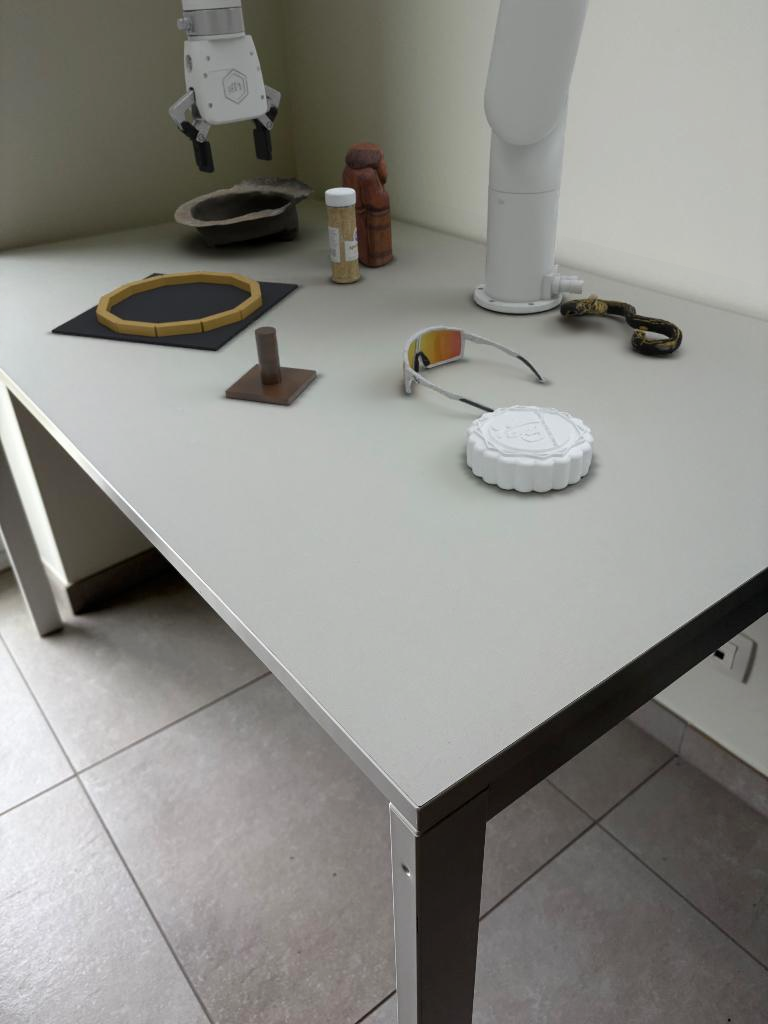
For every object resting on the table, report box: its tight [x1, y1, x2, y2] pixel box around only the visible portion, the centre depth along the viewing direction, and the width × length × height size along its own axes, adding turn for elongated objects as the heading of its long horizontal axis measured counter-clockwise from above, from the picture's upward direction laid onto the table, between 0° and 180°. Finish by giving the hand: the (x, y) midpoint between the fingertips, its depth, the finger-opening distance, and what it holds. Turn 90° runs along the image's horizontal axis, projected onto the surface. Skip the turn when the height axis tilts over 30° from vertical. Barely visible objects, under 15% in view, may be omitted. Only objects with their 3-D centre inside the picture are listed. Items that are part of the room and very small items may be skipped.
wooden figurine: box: [341, 141, 393, 268], centre depth 130 cm, size 12×6×18 cm, turn 24°
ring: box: [96, 270, 262, 337], centre depth 117 cm, size 23×23×1 cm
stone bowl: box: [173, 176, 315, 247], centre depth 145 cm, size 25×25×9 cm
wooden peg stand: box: [225, 326, 317, 406], centre depth 92 cm, size 8×8×7 cm
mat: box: [51, 272, 299, 352], centre depth 118 cm, size 26×26×1 cm
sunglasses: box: [402, 325, 546, 413], centre depth 92 cm, size 14×15×5 cm
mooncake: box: [465, 404, 595, 493], centre depth 77 cm, size 12×12×4 cm
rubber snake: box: [559, 293, 684, 356], centre depth 103 cm, size 18×5×10 cm
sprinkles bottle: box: [324, 187, 361, 284], centre depth 123 cm, size 5×5×13 cm
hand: (236, 165), depth 114 cm, fingers open, 9 cm apart
